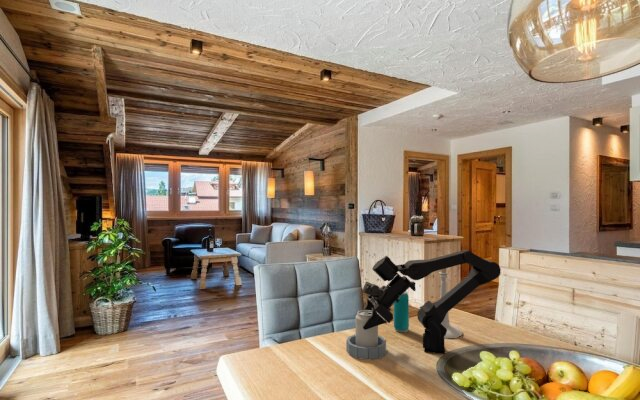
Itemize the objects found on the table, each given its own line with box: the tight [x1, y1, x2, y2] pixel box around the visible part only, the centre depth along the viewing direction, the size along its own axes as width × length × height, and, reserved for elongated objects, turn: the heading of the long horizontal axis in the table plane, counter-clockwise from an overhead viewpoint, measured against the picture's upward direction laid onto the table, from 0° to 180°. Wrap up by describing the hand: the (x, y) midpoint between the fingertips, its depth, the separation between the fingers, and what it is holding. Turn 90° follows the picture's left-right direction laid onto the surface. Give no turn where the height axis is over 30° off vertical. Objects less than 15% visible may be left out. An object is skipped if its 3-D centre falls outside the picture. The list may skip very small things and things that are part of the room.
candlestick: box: [438, 254, 463, 339], centre depth 135 cm, size 13×13×30 cm
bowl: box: [345, 333, 387, 361], centre depth 118 cm, size 13×13×4 cm
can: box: [355, 309, 379, 347], centre depth 118 cm, size 8×8×12 cm
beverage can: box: [393, 290, 410, 333], centre depth 138 cm, size 6×6×15 cm
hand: (361, 324), depth 118 cm, fingers open, 9 cm apart
